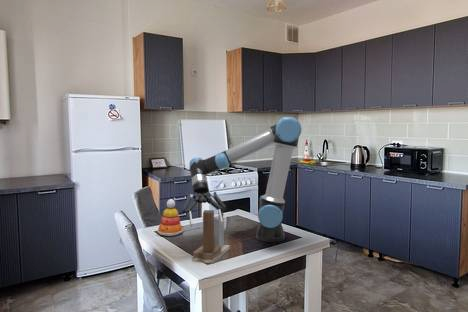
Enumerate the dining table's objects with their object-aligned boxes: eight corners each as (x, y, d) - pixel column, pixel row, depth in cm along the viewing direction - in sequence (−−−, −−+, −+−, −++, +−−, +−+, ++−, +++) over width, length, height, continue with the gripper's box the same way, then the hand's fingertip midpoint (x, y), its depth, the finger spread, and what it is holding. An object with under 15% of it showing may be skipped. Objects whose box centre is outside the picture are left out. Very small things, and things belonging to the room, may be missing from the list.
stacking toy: (152, 234, 195) (151, 199, 194) (171, 228, 207) (170, 195, 205) (169, 238, 187) (169, 202, 185) (188, 232, 198) (188, 198, 197)
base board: (229, 248, 172) (229, 240, 171) (213, 263, 152) (213, 254, 152) (210, 246, 175) (210, 238, 175) (192, 260, 155) (192, 252, 155)
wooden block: (205, 245, 163) (205, 207, 162) (214, 245, 163) (214, 207, 162) (203, 252, 154) (202, 212, 153) (213, 252, 154) (213, 212, 153)
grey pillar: (223, 245, 172) (223, 216, 171) (219, 248, 166) (218, 219, 165) (216, 244, 173) (215, 216, 172) (211, 248, 168) (211, 219, 167)
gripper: (223, 188, 176) (232, 226, 163) (173, 191, 169) (178, 230, 156) (226, 179, 171) (235, 217, 157) (174, 182, 164) (179, 222, 151)
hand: (206, 224), depth 157 cm, fingers open, 13 cm apart
